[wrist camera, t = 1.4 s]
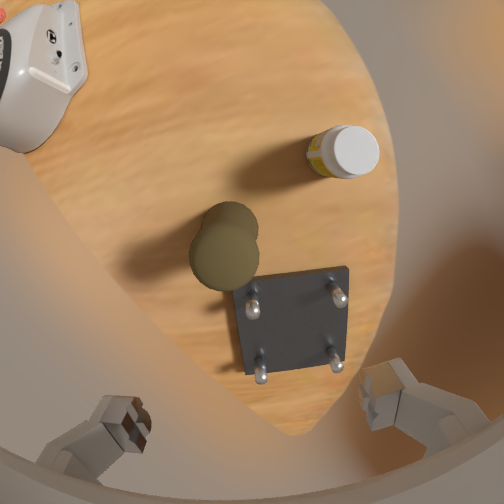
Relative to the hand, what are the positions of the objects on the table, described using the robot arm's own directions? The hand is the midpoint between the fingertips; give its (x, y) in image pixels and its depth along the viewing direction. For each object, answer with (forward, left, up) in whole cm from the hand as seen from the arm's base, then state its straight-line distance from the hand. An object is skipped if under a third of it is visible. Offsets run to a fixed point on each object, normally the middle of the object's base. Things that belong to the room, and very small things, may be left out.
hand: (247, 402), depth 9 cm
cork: (-1, -1, -23) cm, 23 cm away
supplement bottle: (-8, +10, -23) cm, 26 cm away
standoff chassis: (+11, +5, -22) cm, 25 cm away
